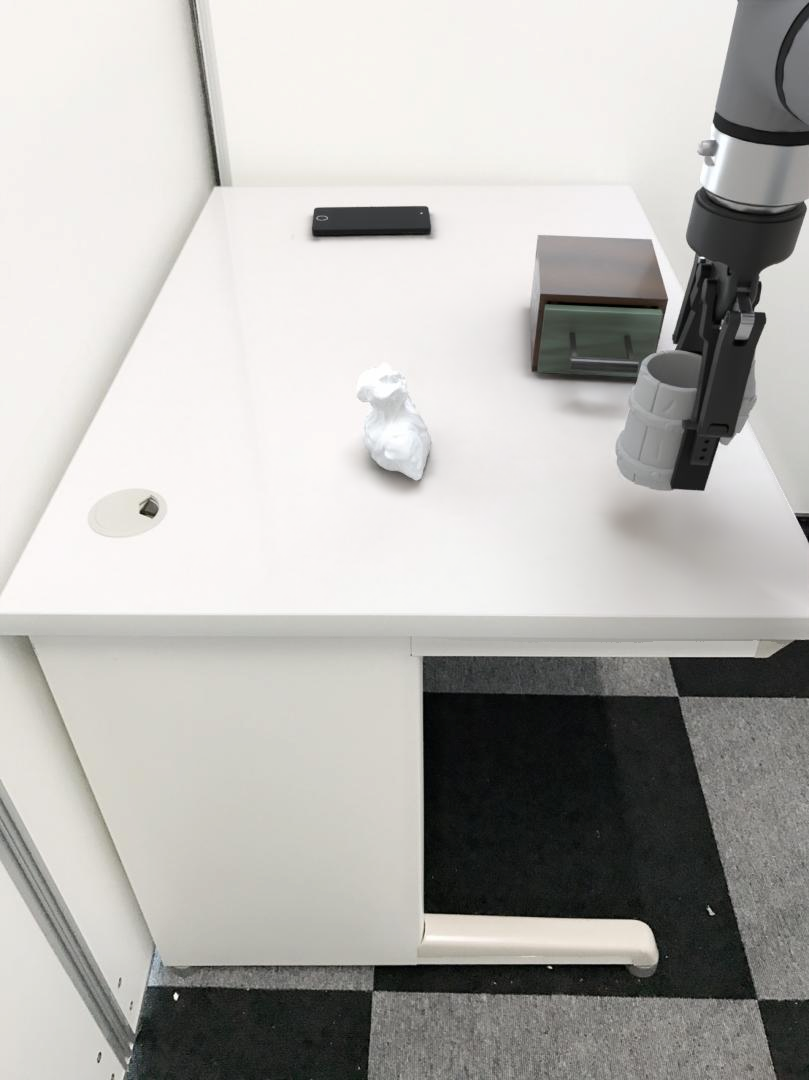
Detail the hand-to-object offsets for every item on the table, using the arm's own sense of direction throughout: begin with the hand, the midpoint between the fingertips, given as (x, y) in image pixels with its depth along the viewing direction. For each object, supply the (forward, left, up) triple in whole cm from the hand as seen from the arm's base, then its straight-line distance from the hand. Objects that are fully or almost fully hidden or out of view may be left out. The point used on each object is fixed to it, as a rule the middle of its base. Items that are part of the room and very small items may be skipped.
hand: (680, 456), depth 74 cm
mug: (+1, 0, -1) cm, 2 cm away
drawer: (+28, +5, -7) cm, 30 cm away
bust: (+8, +26, -8) cm, 28 cm away
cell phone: (+67, +36, -8) cm, 76 cm away
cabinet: (+34, +5, -8) cm, 35 cm away
